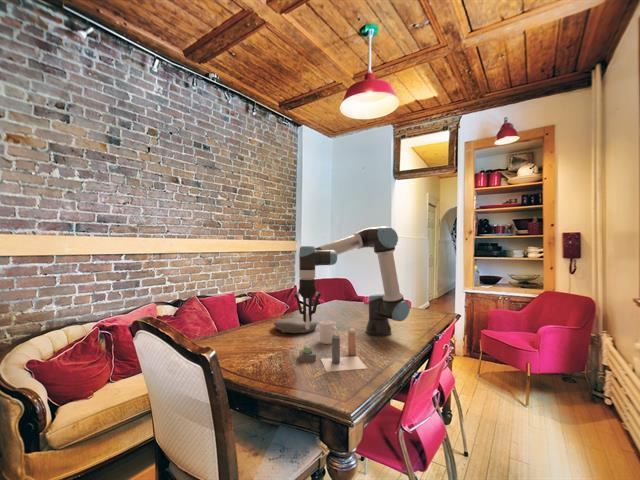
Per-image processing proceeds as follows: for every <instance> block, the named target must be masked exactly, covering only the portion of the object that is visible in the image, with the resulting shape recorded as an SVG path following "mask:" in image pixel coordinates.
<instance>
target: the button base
mask: <svg viewBox="0 0 640 480" xmlns="http://www.w3.org/2000/svg"><path fill="white" fill-rule="evenodd" d="M298 351H299V356H298V357H299V361H300V362H301V363H306V362H316V361H317V354H316V352H315V349H313V348H312V354H304V353H303V349H300V350H298Z"/></svg>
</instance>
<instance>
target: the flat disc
mask: <svg viewBox="0 0 640 480" xmlns="http://www.w3.org/2000/svg"><path fill="white" fill-rule="evenodd" d="M318 324H319V322H318V320H317V319H314V318H312V321H311V322H309V329H306V328H305V322H304V321H303V316H302V317H286V318H282V319H278V320H275V322H273V325H274V327H275V329H276V330H278V331H281V333H283V334H284V333H291V334H294V335H296V334H299V333H309V332H312V331H314V330H315V329H316V328H317V325H318Z"/></svg>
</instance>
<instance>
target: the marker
mask: <svg viewBox="0 0 640 480" xmlns="http://www.w3.org/2000/svg"><path fill="white" fill-rule="evenodd" d="M340 357H341V339H340V334H339V335H338V333H335V334H334V335H333V338H332V344H331V358H332V364H340Z"/></svg>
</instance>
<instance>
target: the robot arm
mask: <svg viewBox="0 0 640 480" xmlns="http://www.w3.org/2000/svg"><path fill="white" fill-rule="evenodd" d="M398 241H399V236H398V233H397V231H396V230H395V228H393V227H392V226H375V227H367V228H365V229H362V230H359V231H357V232H354V233H352V235H350V236H348V237H344V238H341V239H338V240H335V241H332V242H330V243H327V244H324V245H321V246H317V247H315V246H313V245H312V246H311V245H309V246H308V245H307V246H305V245H304V246H303V245H302V246H300V247H299V253H298V257H299V259H298V260H299V266H298V267H299V270H298V271H299V283H298V284H299V286H298V287H299V288H298V290H297V292H295V293H293V295H294V298H295V300H296V303H297V308H298V312H299V314H300V315H302V318H303V321H304V322H305V328H306V329H309V322H311V321H312V319H313V318H312V316H313V314H316V312H317V309H318V308H317V307H318V303H319V299H320V297H321V295H322V294H321V293H320V292H318V291H317V289H316V279H315V278H316V267H317V266H333V265H336V263H337V262H338V255H341V254H344V253H348V252H349V251H353V250H354V249H357V250H360V249H364V248H373V251H374V253H375V255H377V259H378V265H379V269H380V275H381V281H382V287H383V291H384V292H383V294H382V293H378V294H376V293H375V294H371V295H369V296H368V320H367V324H366V327H365V333H366V334H368V335H372V336H377V337H385V336H389V335H391V334H392V328H391V325H390V322H389V319H390V320H393V321H396V322H404V321H405V320H406V319H407V318H408V316H409V314H410V310H411V306H410V304H409V303H408V302H407V301H405V299H404V295H403V294H402V293H401V292H400V287H399V281H398V274H397V268H396V261H395V258H394V252H395V250H396V246H397V245H398ZM300 296H301V298H302V305H301V302H300V298H299V297H300ZM314 296H315V297H314ZM313 297H314V302H313ZM307 299H308V301H307ZM307 303H308V306H307ZM312 303H313V304H312ZM312 305H313V306H312ZM302 306H303V307H302ZM307 307H308V313H307Z"/></svg>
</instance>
